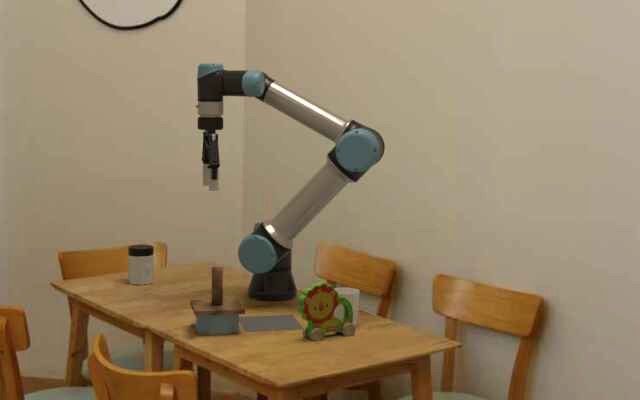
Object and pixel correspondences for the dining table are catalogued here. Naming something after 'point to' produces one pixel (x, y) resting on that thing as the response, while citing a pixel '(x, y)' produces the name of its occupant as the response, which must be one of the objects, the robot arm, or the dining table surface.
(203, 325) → the bowl
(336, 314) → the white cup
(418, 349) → the dining table surface
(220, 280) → the lid
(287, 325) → the mat
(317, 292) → the toy lion
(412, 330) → the dining table surface
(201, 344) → the dining table surface
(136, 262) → the jar
